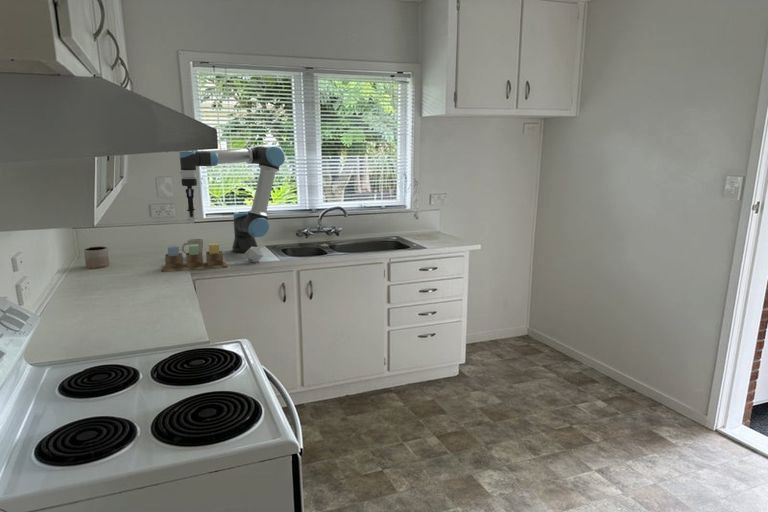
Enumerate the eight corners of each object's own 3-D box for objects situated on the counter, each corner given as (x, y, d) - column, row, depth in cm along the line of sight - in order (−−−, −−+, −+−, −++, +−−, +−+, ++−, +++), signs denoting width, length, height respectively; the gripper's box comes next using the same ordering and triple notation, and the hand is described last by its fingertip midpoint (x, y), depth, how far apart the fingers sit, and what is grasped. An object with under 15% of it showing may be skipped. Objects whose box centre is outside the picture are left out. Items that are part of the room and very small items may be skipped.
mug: (201, 259, 286) (200, 241, 284) (179, 258, 286) (177, 241, 284) (206, 256, 294) (205, 239, 292) (184, 255, 294) (183, 238, 292)
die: (266, 261, 285) (261, 246, 288) (261, 257, 276) (256, 241, 279) (252, 267, 285) (247, 251, 288) (246, 263, 276) (241, 246, 279)
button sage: (199, 257, 272) (198, 244, 270) (199, 259, 267) (198, 246, 266) (189, 257, 270) (188, 244, 268) (189, 259, 265) (188, 246, 264)
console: (225, 261, 281) (225, 249, 279) (227, 267, 269) (226, 254, 268) (163, 265, 270) (161, 253, 268) (161, 271, 258) (160, 258, 257)
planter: (81, 267, 266) (79, 249, 263) (101, 262, 275) (99, 245, 273) (94, 269, 261) (92, 251, 258) (114, 265, 270) (112, 247, 268)
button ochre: (219, 255, 275) (218, 243, 274) (219, 257, 271) (218, 244, 269) (209, 256, 273) (208, 243, 272) (209, 258, 269) (208, 245, 267)
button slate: (179, 258, 268) (178, 245, 267) (179, 260, 264) (178, 247, 262) (169, 258, 267) (168, 245, 265) (168, 261, 262) (167, 247, 260)
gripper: (181, 177, 271) (184, 221, 276) (181, 179, 259) (184, 224, 264) (196, 177, 274) (199, 220, 279) (196, 179, 262) (199, 224, 267)
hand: (191, 222), depth 272 cm, fingers closed
